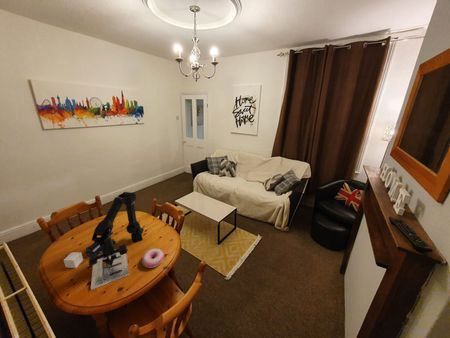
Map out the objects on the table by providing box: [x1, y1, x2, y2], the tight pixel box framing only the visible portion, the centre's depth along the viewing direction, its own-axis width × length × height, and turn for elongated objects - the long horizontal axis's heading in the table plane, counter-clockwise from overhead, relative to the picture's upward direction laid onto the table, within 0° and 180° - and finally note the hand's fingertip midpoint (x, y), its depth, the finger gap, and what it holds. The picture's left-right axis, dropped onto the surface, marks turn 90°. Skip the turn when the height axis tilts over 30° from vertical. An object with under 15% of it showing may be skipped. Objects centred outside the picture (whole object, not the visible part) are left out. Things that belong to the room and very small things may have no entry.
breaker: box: [102, 268, 109, 280], centre depth 102 cm, size 3×4×4 cm
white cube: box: [63, 251, 84, 269], centre depth 110 cm, size 6×6×6 cm
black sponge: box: [85, 238, 117, 254], centre depth 122 cm, size 16×8×4 cm, turn 126°
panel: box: [90, 252, 130, 291], centre depth 108 cm, size 18×20×2 cm
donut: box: [141, 248, 165, 269], centre depth 115 cm, size 14×13×5 cm
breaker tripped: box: [102, 262, 109, 270], centre depth 106 cm, size 3×4×4 cm
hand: (111, 265), depth 108 cm, fingers closed
